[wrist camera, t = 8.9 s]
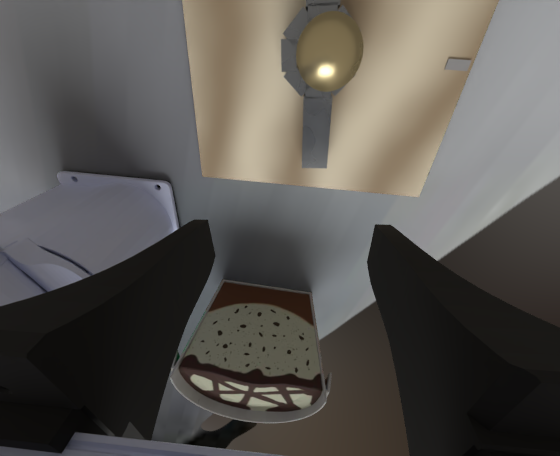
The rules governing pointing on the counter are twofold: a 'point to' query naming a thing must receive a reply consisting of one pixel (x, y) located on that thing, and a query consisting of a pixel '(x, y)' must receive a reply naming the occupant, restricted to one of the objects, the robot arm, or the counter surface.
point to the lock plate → (331, 87)
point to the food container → (254, 356)
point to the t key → (314, 101)
